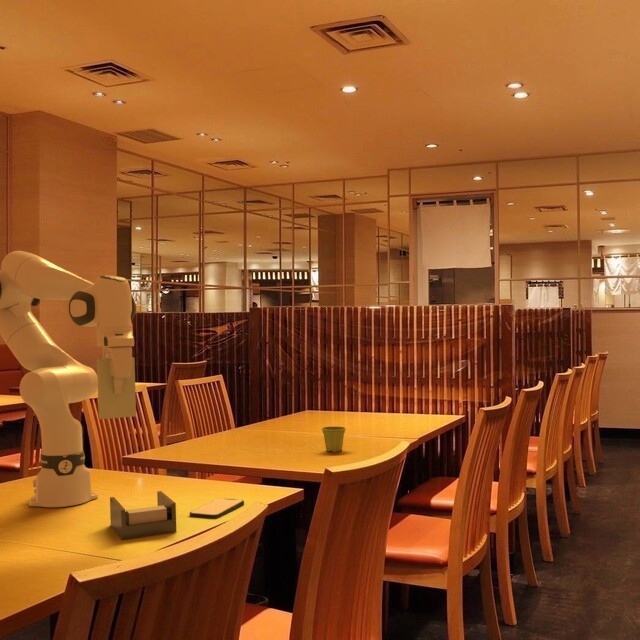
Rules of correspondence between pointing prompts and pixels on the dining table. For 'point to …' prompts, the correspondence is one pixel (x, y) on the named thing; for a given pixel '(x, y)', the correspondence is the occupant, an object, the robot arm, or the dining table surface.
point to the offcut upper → (146, 515)
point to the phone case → (217, 508)
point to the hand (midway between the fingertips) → (116, 393)
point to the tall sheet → (107, 399)
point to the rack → (143, 529)
